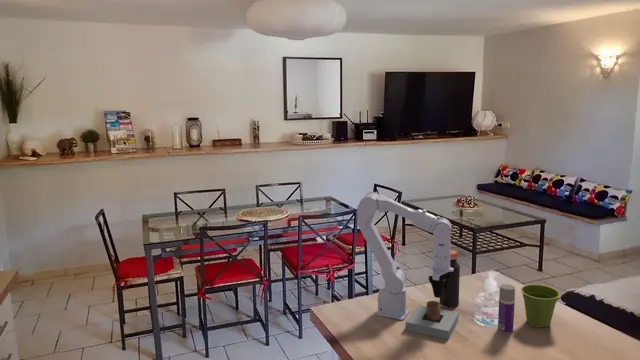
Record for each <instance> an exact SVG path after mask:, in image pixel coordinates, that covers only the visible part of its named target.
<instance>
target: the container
mask: <svg viewBox="0 0 640 360" xmlns="http://www.w3.org/2000/svg"><path fill="white" fill-rule="evenodd" d="M515 299H516V287H515V285H512V284H507V283H505V284H500V286H499V297H498V314H497V315H498V318H497V331H498V332H499V333H501V334H505V335H511V334H513V332H514V319H515V318H514V317H515V305H516V304H515V303H516V302H515Z"/></svg>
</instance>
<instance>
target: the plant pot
mask: <svg viewBox="0 0 640 360" xmlns="http://www.w3.org/2000/svg"><path fill="white" fill-rule="evenodd" d="M520 292H521V293H522V298H523V302H524V303H523V304H524V309H525V317H526V322H527V323H529V325H530V326H532V327H535V328H536V327H537V328H544V327H547V328H548V327H550V325H551V322H552V319H553V315H554V310H555V306H556V304H557V303H558V298H560V297H561V292H559V291H558V289H556V288H553V286H552V287H551V286H549V285H548V286H547V285H543V284H538V283H536V284H534V283H533V284H531V283H530V284H525V285H522V286H521V287H520Z"/></svg>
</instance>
